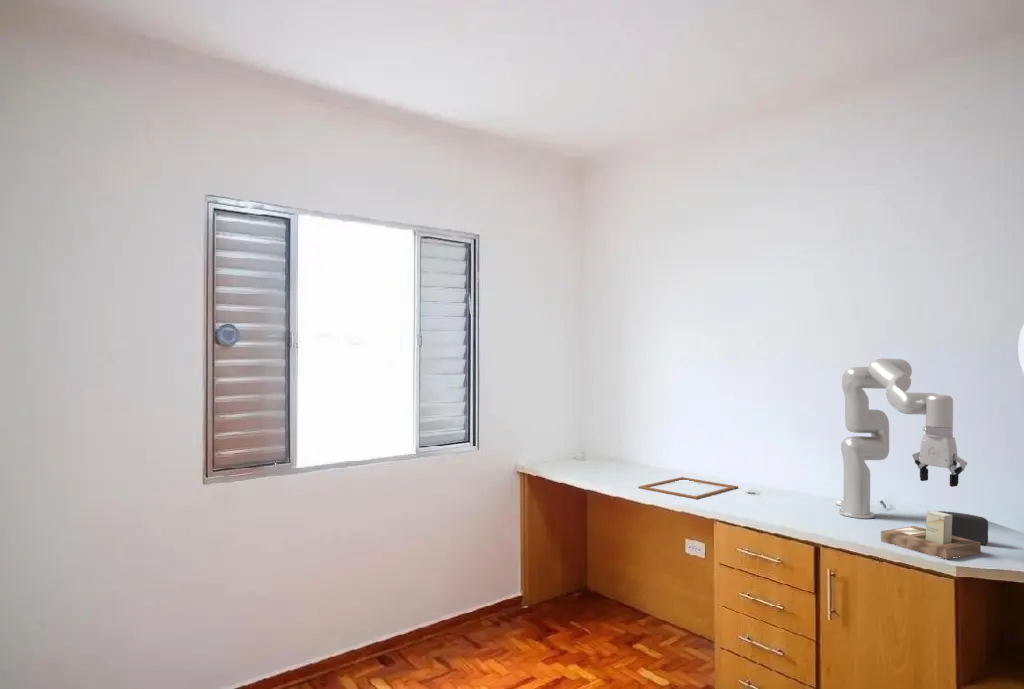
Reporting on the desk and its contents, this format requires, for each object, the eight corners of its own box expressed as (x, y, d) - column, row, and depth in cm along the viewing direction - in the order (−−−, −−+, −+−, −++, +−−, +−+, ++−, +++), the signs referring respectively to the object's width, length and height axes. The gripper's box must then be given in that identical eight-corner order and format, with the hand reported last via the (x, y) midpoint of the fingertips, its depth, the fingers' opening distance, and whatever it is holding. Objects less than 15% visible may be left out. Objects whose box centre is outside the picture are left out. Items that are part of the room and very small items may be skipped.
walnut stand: (880, 541, 226) (881, 530, 226) (914, 535, 234) (914, 525, 234) (946, 559, 206) (946, 547, 206) (980, 553, 214) (980, 541, 214)
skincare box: (924, 547, 219) (925, 511, 220) (933, 546, 221) (933, 510, 221) (943, 553, 214) (944, 515, 214) (952, 551, 215) (952, 514, 216)
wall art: (638, 486, 310) (681, 476, 336) (638, 489, 310) (681, 479, 336) (696, 497, 288) (738, 486, 314) (696, 500, 288) (738, 489, 314)
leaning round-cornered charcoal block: (988, 543, 226) (988, 516, 226) (987, 546, 222) (988, 518, 222) (932, 535, 235) (932, 508, 236) (931, 537, 232) (931, 511, 232)
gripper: (906, 429, 224) (906, 479, 224) (959, 435, 208) (958, 489, 208) (920, 428, 227) (920, 477, 227) (973, 434, 212) (973, 487, 212)
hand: (938, 483), depth 218 cm, fingers open, 9 cm apart
